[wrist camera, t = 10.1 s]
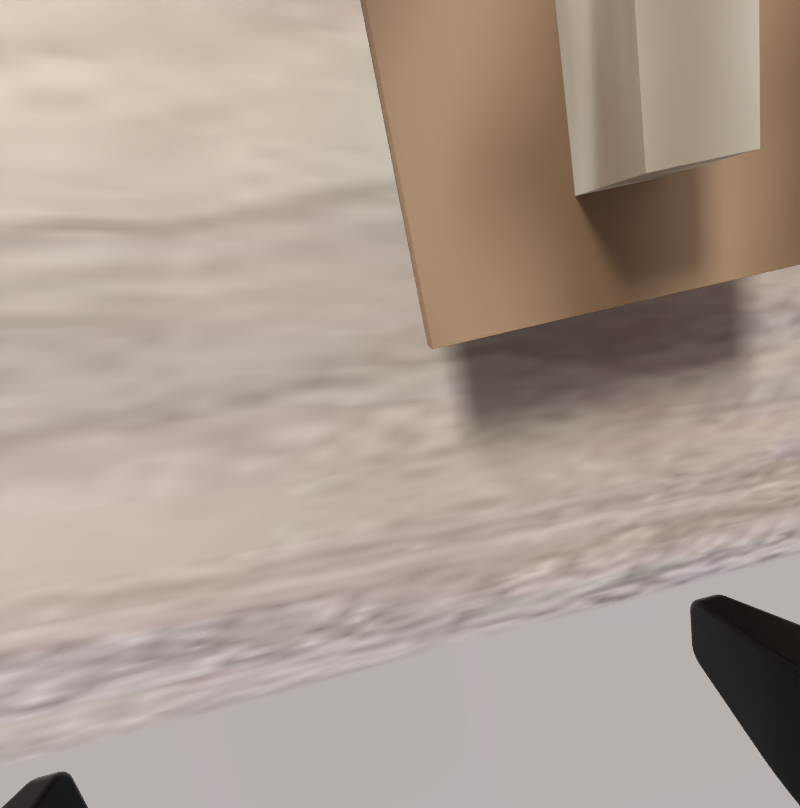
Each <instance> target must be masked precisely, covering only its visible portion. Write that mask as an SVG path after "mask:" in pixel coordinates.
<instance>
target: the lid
mask: <svg viewBox="0 0 800 808" xmlns="http://www.w3.org/2000/svg"><path fill="white" fill-rule="evenodd" d="M360 1H361V6H362V11H363V16H364V21H365V26H366V31H367V36H368V41H369V47H370V52H371V57H372V62H373V67H374V72H375V77H376V82H377V87H378V93H379V98H380V103H381V108H382V113H383V118H384V123H385V128H386V133H387V139H388V144H389V149H390V154H391V159H392V164H393V169H394V174H395V179H396V185H397V190H398V195H399V200H400V205H401V210H402V215H403V220H404V225H405V231H406V236H407V241H408V246H409V251H410V256H411V261H412V266H413V272H414V277H415V282H416V287H417V292H418V297H419V302H420V307H421V312H422V318H423V323H424V328H425V333H426V338H427V343H428V345H429V346H430V347H431V348H432V349H436V348H440V347H444V346H449V345H453V344H457V343H462V342H466V341H470V340H475V339H479V338H483V337H488V336H492V335H496V334H501V333H505V332H509V331H514V330H518V329H522V328H527V327H531V326H535V325H540V324H544V323H548V322H553V321H557V320H561V319H566V318H570V317H574V316H579V315H583V314H587V313H592V312H596V311H600V310H605V309H609V308H613V307H618V306H622V305H626V304H631V303H635V302H639V301H644V300H648V299H652V298H657V297H661V296H665V295H670V294H674V293H678V292H682V291H687V290H691V289H695V288H700V287H704V286H708V285H713V284H717V283H721V282H726V281H730V280H734V279H739V278H743V277H747V276H752V275H756V274H760V273H765V272H769V271H773V270H778V269H782V268H786V267H791V266H795V265H799V264H800V0H360Z"/></svg>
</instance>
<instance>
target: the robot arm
mask: <svg viewBox="0 0 800 808" xmlns="http://www.w3.org/2000/svg"><path fill="white" fill-rule="evenodd" d="M690 613H691V631H692V646H693V651H694V654H695V656H696V658H697V660H698V662H699V664H700V666H701V667H702V668H703V670H704V671H705V673H706V674H707V676H708V677H709V679H710V680H711V682H712V683H713V685H714V686H715V688H716V689H717V690H718V692H719V693H720V695H721V696H722V698H723V699H724V701H725V702H726V704H727V705H728V706H729V708H730V710H731V711H732V712H733V714H734V715H735V717H736V718H737V720H738V721H739V722H740V724H741V726H742V727H743V729H744V730H745V732H746V733H747V734H748V736H749V737H750V739H751V740H752V742H753V743H754V745H755V746H756V748H757V749H758V750H759V752H760V753H761V755H762V756H763V758H764V759H765V761H766V762H767V763H768V765H769V766H770V768H771V769H772V770H773V772H774V773H775V774H776V776H777V777H778V778H779V780H780V781H781V782H782V784H783V785H784V786H785V787H786V789H787V790H788V791H789V792H790V794H791V795H792V796H793V797H794V799H795V800H796V801H797V802H798V804H799V805H800V625H798V624H796V623H793V622H791V621H788V620H785V619H783V618H780V617H778V616H775V615H773V614H770V613H768V612H765V611H762V610H760V609H757V608H755V607H752V606H750V605H747V604H744V603H742V602H739V601H736V600H734V599H731V598H729V597H726V596H723V595H713V596H709V597H705V598H702V599H698V600H695V601H694V602H693V603H692V604H691V608H690ZM2 808H88V807H87V805H86V803H85V801H84V799H83V797H82V795H81V793H80V791H79V789H78V788H77V786H76V784H75V782H74V780H73V778H72V777H71V775H70V774H68V773H66V772H57V773H53V774H50V775H46V776H42V777H38V778H36V779H34V780H32V781H30V782H29V783H28V784H26V785H25V786H24V787H23V788H22V789H21V790H20V791H19V792H18V793H17V794H16V795H15V796H14V797H13V798H12V799H11V800H10V801H9V802H8V803H6V804H5V805H4V806H3V807H2Z"/></svg>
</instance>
